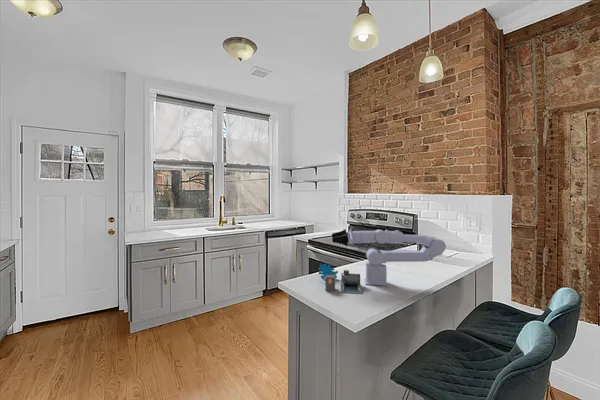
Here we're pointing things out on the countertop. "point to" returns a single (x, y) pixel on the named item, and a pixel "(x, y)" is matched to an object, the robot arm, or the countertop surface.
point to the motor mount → (350, 283)
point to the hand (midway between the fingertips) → (332, 237)
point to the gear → (327, 271)
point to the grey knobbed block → (330, 282)
